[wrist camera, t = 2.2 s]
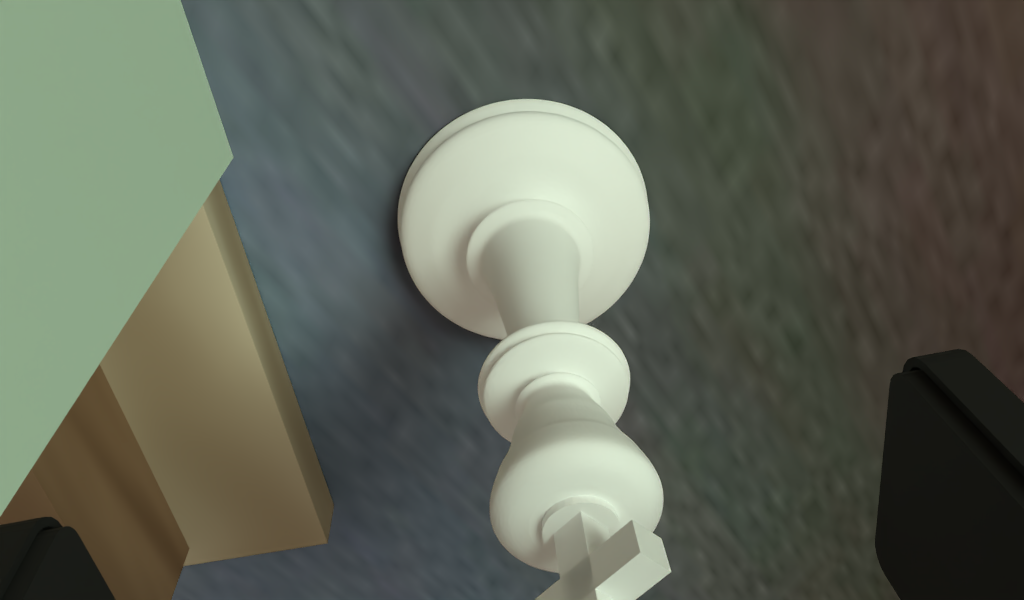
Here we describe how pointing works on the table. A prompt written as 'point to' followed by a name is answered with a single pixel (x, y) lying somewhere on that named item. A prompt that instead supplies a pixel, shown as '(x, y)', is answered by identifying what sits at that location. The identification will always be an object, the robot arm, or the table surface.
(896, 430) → the robot arm
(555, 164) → the chess piece
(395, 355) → the table surface
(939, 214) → the table surface
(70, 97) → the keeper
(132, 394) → the pintle board
